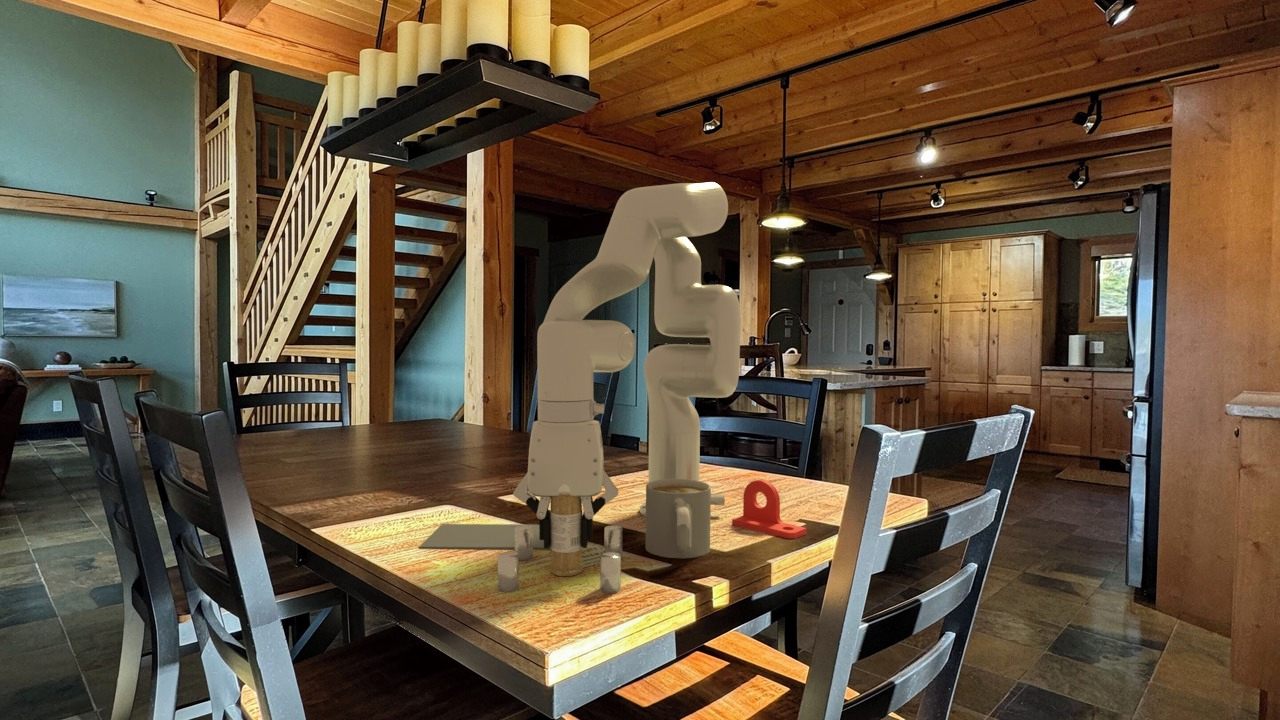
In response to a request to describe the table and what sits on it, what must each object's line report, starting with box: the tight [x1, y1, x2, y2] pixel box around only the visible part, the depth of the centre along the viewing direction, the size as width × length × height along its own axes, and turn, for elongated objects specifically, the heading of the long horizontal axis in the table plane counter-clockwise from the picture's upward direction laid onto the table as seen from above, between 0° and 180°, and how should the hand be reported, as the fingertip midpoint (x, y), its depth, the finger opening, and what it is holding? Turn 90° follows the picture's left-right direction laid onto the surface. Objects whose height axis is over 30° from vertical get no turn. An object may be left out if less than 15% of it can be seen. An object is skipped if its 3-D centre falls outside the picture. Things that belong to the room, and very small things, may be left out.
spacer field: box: [497, 524, 623, 594], centre depth 90 cm, size 16×16×5 cm
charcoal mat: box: [418, 523, 551, 551], centre depth 105 cm, size 20×12×1 cm, turn 91°
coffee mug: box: [645, 479, 712, 559], centre depth 99 cm, size 13×10×10 cm
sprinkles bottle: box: [549, 484, 584, 577], centre depth 89 cm, size 5×5×14 cm
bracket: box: [731, 479, 808, 540], centre depth 112 cm, size 12×4×8 cm, turn 47°
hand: (566, 543), depth 90 cm, fingers closed on sprinkles bottle, 4 cm apart
